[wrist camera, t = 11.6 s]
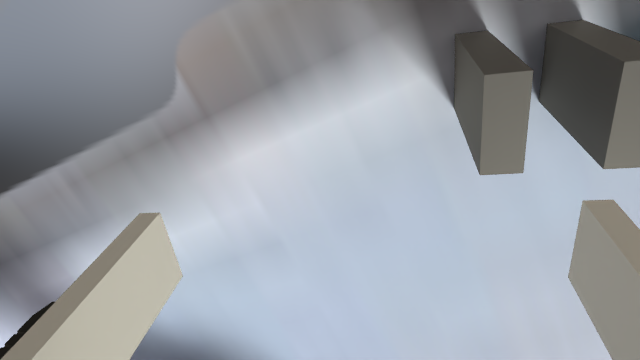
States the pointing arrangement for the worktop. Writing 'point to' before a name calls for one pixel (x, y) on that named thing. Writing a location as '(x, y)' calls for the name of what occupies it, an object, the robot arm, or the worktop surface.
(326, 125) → the worktop surface
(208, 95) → the worktop surface
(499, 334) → the worktop surface
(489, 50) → the domino
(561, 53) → the domino
